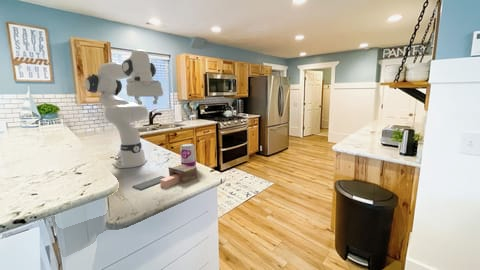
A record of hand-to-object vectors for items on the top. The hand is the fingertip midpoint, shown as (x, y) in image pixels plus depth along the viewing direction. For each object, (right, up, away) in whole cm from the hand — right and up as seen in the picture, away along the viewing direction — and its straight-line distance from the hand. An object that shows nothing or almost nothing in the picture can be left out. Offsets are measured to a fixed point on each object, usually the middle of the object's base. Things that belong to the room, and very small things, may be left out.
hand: (147, 104), depth 121 cm
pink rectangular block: (+19, -41, -13) cm, 48 cm away
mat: (+8, -41, -14) cm, 44 cm away
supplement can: (+22, -38, +5) cm, 44 cm away
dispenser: (+22, -40, -9) cm, 47 cm away
